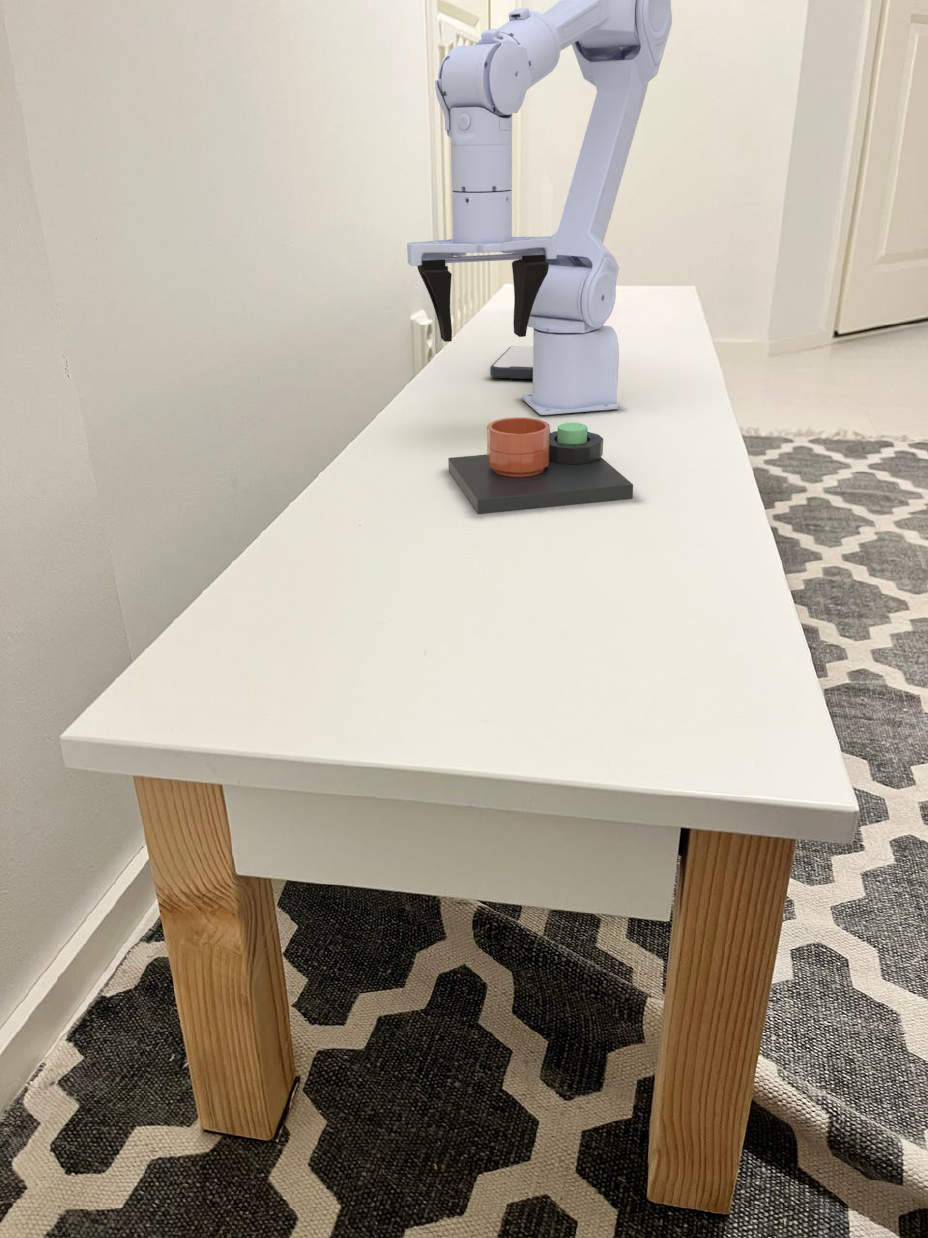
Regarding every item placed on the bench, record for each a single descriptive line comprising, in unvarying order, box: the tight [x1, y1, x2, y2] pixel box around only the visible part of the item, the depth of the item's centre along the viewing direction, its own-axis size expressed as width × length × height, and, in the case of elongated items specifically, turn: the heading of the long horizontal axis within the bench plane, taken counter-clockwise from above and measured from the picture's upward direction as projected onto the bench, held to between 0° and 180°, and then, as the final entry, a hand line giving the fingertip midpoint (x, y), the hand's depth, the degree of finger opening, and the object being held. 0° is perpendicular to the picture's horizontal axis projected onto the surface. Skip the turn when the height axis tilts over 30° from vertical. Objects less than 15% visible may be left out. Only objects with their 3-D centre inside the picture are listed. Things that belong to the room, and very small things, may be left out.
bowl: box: [486, 416, 551, 477], centre depth 88 cm, size 6×6×4 cm
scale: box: [447, 430, 634, 515], centre depth 89 cm, size 14×12×3 cm
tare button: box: [557, 422, 588, 444], centre depth 92 cm, size 3×3×2 cm
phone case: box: [489, 345, 533, 380], centre depth 131 cm, size 9×2×16 cm
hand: (483, 337), depth 98 cm, fingers open, 7 cm apart
